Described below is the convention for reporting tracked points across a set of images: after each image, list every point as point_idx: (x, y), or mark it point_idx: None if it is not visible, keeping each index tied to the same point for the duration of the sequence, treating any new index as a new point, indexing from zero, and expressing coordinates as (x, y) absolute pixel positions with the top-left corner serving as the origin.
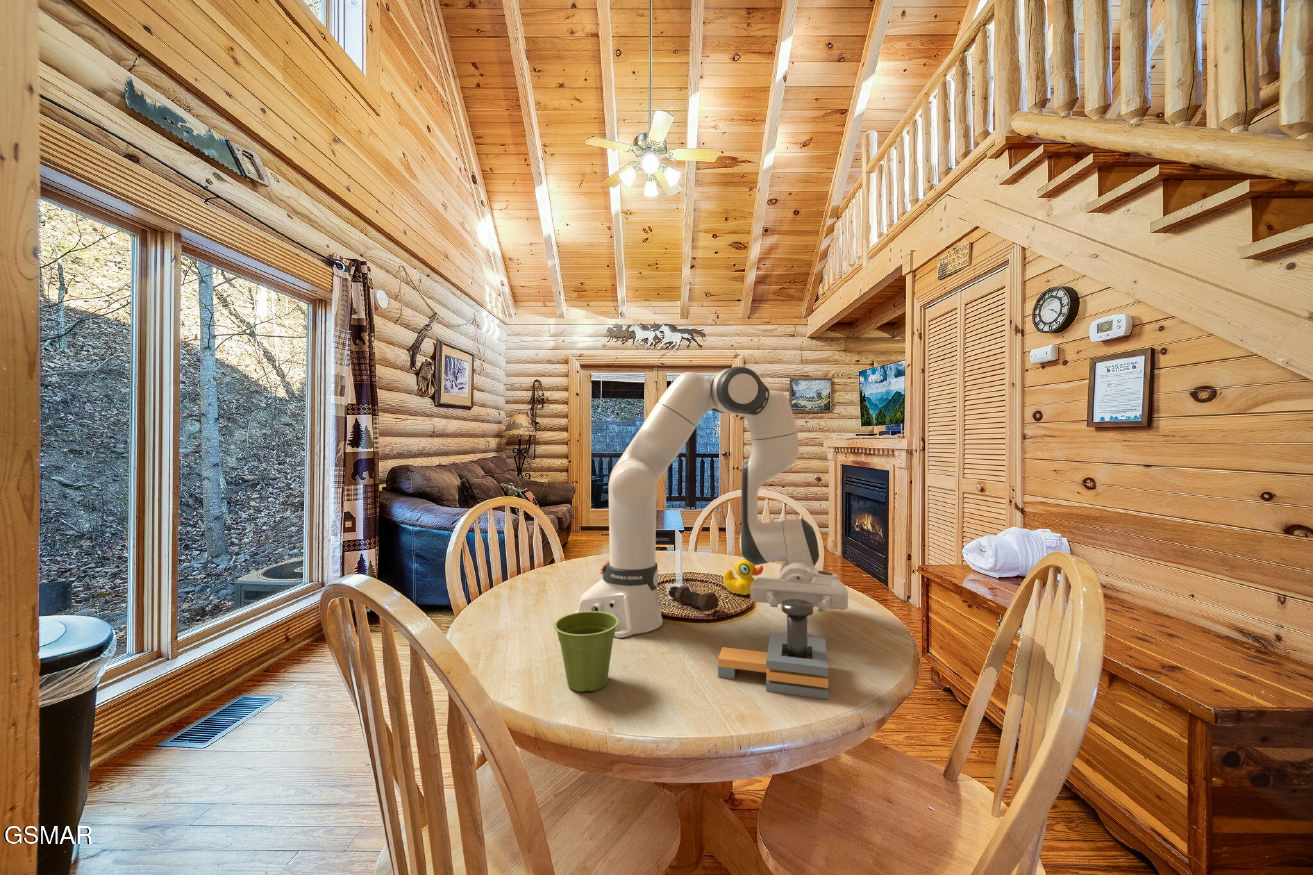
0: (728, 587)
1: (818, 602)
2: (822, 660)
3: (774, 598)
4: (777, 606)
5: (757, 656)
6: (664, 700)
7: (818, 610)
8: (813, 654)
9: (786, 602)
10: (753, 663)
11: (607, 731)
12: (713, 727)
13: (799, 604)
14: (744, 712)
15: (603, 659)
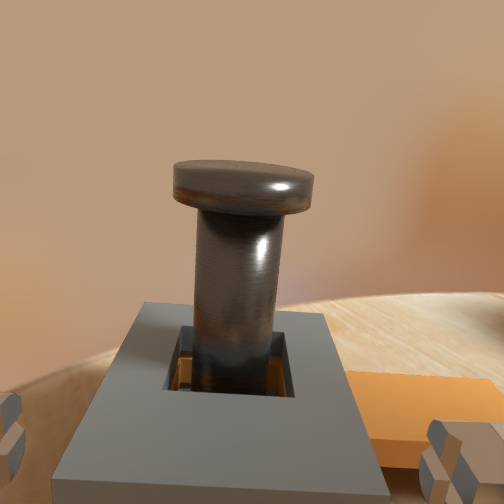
0: None
1: (4, 397)
2: (149, 324)
3: (476, 428)
4: (420, 472)
5: (377, 405)
6: (499, 345)
7: (22, 449)
8: (171, 346)
9: (292, 175)
10: (371, 374)
11: (499, 295)
12: (368, 308)
13: (234, 168)
14: (334, 334)
15: None
